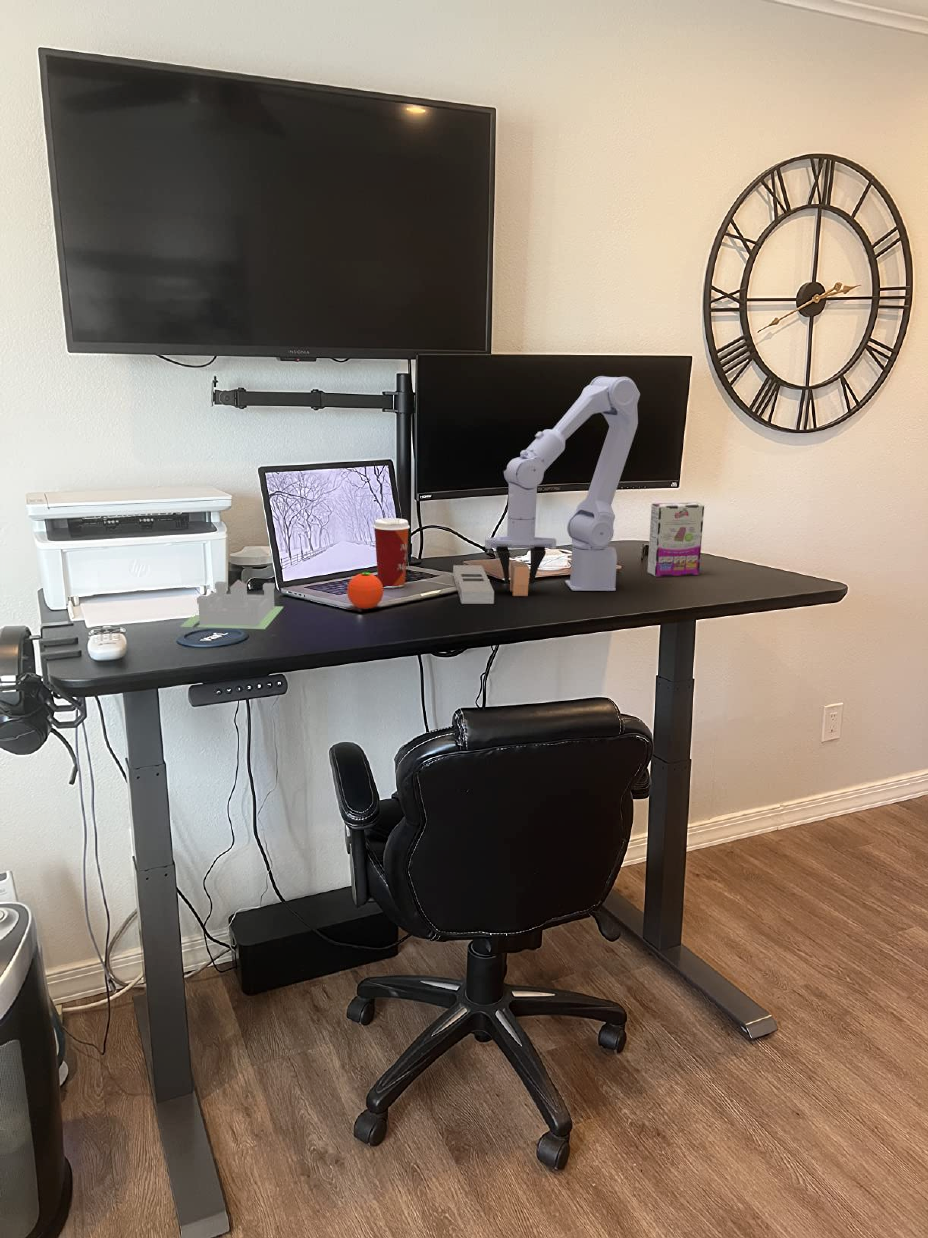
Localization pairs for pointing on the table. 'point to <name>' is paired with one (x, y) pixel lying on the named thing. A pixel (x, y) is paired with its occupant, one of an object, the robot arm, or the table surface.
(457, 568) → the rail
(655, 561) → the candy bar box
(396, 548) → the paper cup
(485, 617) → the table surface
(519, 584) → the orange block
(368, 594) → the clementine
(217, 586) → the castle model
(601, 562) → the robot arm
